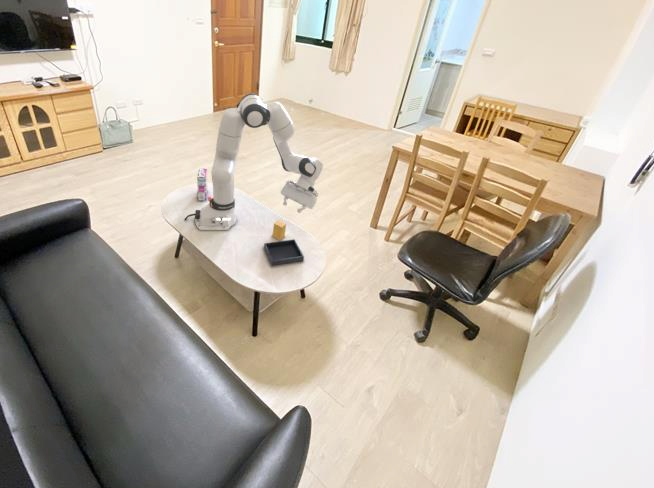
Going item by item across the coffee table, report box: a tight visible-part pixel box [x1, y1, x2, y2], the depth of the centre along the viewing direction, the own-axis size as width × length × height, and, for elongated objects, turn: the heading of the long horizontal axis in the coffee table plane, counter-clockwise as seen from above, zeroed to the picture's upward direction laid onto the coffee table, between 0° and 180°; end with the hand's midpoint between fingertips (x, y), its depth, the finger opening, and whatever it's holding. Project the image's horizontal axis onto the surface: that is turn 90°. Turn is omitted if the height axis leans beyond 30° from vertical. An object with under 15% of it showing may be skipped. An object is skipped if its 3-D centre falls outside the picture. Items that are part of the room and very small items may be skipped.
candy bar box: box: [196, 168, 208, 202], centre depth 199 cm, size 11×5×16 cm, turn 5°
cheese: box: [272, 220, 287, 241], centre depth 176 cm, size 5×4×9 cm
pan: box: [263, 238, 305, 267], centre depth 166 cm, size 16×13×4 cm
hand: (291, 208), depth 177 cm, fingers open, 8 cm apart
